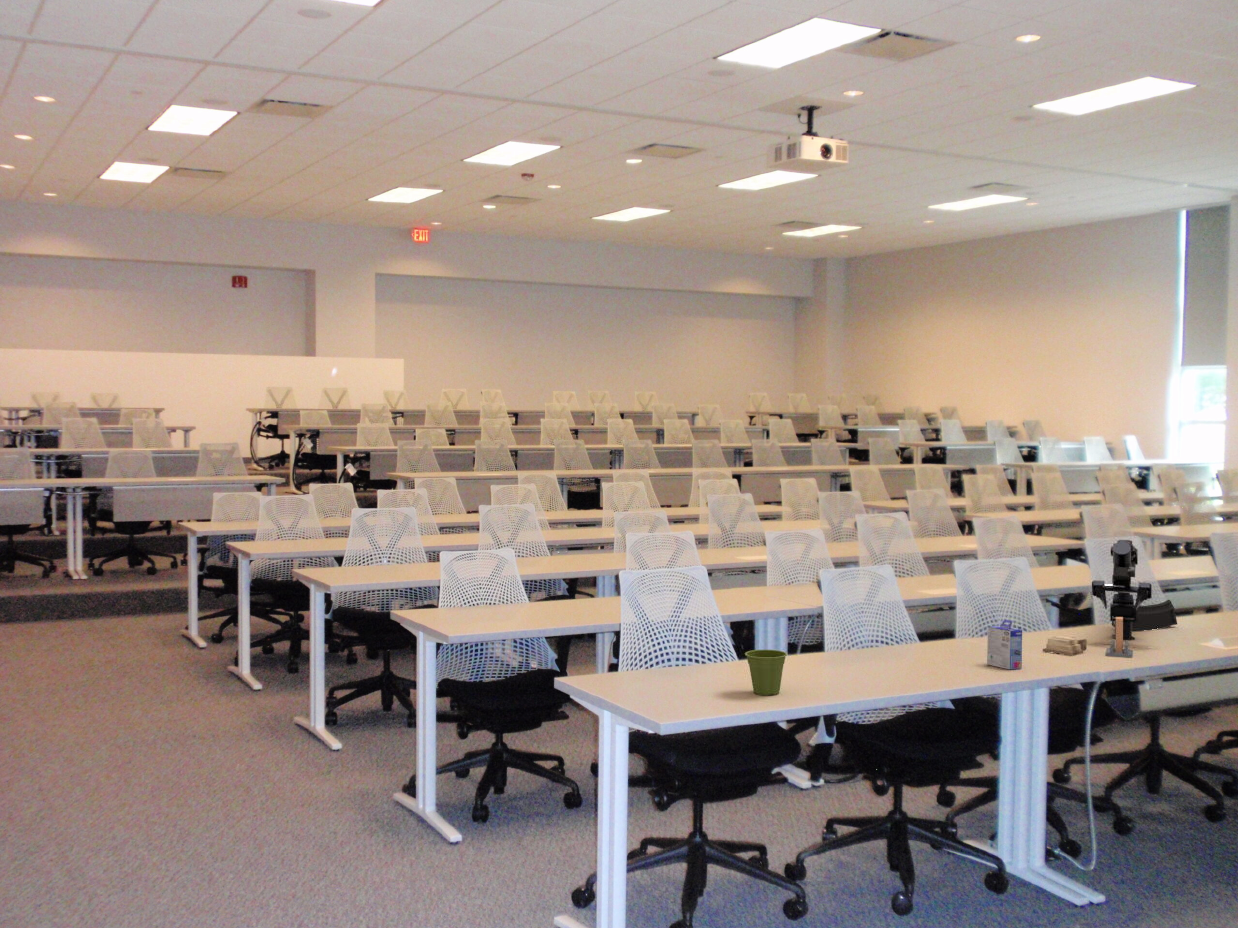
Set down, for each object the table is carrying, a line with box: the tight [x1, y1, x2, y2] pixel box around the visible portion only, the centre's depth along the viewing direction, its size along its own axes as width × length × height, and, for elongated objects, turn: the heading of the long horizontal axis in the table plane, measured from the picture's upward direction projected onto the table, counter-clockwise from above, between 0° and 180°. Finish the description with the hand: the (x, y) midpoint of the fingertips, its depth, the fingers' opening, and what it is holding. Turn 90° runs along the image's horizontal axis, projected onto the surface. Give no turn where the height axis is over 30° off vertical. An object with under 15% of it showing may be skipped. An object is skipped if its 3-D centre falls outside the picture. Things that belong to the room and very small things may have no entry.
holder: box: [1104, 639, 1134, 659], centre depth 376 cm, size 10×8×4 cm
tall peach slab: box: [1115, 617, 1124, 653], centre depth 376 cm, size 5×2×11 cm, turn 154°
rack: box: [1042, 635, 1088, 657], centre depth 382 cm, size 15×10×5 cm, turn 130°
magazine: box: [1111, 599, 1178, 632], centre depth 425 cm, size 17×3×30 cm
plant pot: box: [744, 649, 788, 697], centre depth 320 cm, size 12×12×11 cm
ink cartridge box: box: [986, 619, 1023, 670], centre depth 356 cm, size 10×6×14 cm, turn 27°
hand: (1120, 608), depth 385 cm, fingers open, 9 cm apart
